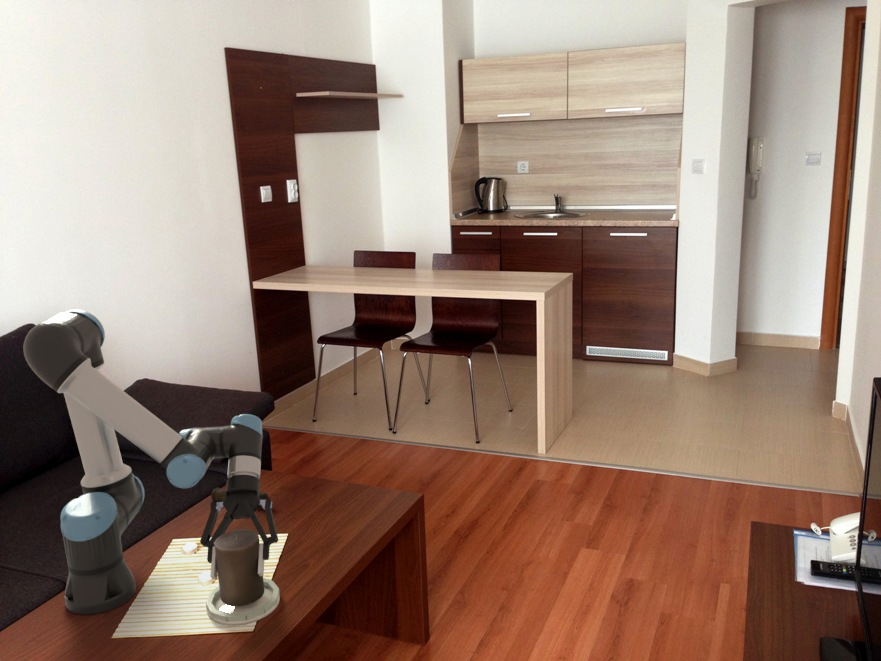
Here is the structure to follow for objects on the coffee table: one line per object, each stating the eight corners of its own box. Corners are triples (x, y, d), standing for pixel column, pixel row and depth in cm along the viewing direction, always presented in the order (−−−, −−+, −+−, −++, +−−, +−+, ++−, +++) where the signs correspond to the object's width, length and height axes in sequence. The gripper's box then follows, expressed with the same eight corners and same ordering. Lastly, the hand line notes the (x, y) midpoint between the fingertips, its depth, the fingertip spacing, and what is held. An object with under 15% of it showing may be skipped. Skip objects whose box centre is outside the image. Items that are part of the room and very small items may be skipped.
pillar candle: (267, 600, 174) (261, 538, 170) (222, 611, 170) (215, 548, 167) (260, 578, 182) (255, 520, 179) (217, 588, 179) (211, 528, 176)
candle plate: (199, 627, 169) (198, 619, 168) (215, 586, 184) (214, 578, 184) (274, 622, 170) (273, 614, 169) (284, 581, 185) (283, 574, 185)
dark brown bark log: (210, 503, 227) (209, 488, 226) (219, 497, 231) (218, 483, 230) (265, 513, 220) (264, 498, 219) (273, 507, 224) (272, 492, 222)
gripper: (293, 481, 187) (290, 577, 176) (199, 487, 186) (190, 583, 174) (288, 470, 181) (285, 568, 169) (191, 475, 179) (181, 575, 168)
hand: (237, 576), depth 172 cm, fingers closed on pillar candle, 9 cm apart
